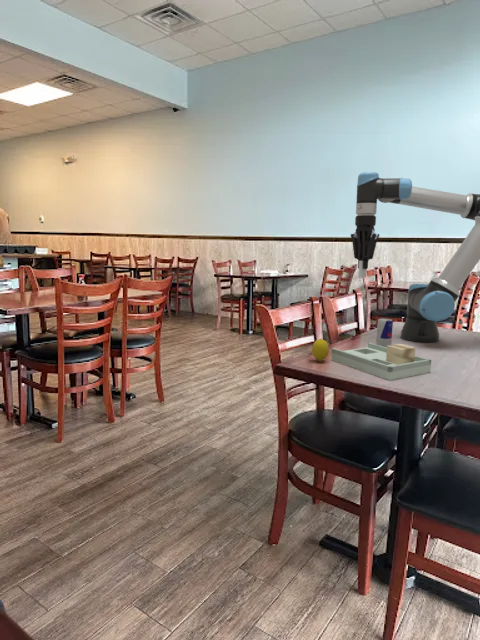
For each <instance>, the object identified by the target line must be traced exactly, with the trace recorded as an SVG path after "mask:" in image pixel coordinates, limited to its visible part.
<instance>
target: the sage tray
mask: <svg viewBox="0 0 480 640" xmlns="http://www.w3.org/2000/svg"><path fill="white" fill-rule="evenodd" d="M386 355H387V348H386V347H383V346H379V345H376V343H372V342H369V343H367V346H366V347H361V348H354V349H347V350H341V349H338V348H335V347H332V348H331V355H330V357H331V358H330V360H331V361H334V362H336V361H337V363H340V364H343V365H345V366H348V367H350V366H351V367H350V368H353V369H357V370H359V371H362V372H364V373H367V374H370V375H373V376H377V377H378V378H382V379H385V380H388V381H395V380H399V379H403V378H408V377H413V376H418V375H423V374H428V373H431V371H432V370H431V367H432V359H429V358H425V357H422V356H419V355H415V359H414V362H410V363H405V364H399V365H398V364H395V363H391V362H388V361H386Z"/></svg>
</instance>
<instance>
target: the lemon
mask: <svg viewBox="0 0 480 640" xmlns="http://www.w3.org/2000/svg"><path fill="white" fill-rule="evenodd" d="M329 351H330V350H329V345H328V342H327V341H326V340H324V339H322V338H319V339H316V340H315V341H314V342H313V344H312V348H311V354H312V356H313V358H314V359H315V360H317V362H321V361H323V360H325V359H326V358H327V357H328V356H329Z"/></svg>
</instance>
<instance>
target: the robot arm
mask: <svg viewBox="0 0 480 640" xmlns="http://www.w3.org/2000/svg"><path fill="white" fill-rule="evenodd" d="M378 202H381V203H383V204H384V203H385V204H386V203H387V204H388V203H389V204H390V203H391V204H397V205H403V206H406V207H407V206H408V207H414V208H419V209H420V208H421V209H426V210H430V211H437V212H442V213H447V214H448V213H449V214H453V215H458V216H460V217H461V218H462V219H467V220H472V221H475V224H474V225H473V227H472V228H471V230H470V231H469V233H468V234H467V235H466V237H464V238H465V239H464V240H463V241H462V242H461V244H460V245H459V247H457V250H456V251H455V253H454V254H453V255H452V257H451V258H450V260H449V261H448V263H447V264H446V265H445V267H444V268H443V270H442V271H441V273H440V274H439V276H438V277H437V278H434V279H431V280H430V281H429V282H428V283H411V284H410V285H409V286H408V291H407V304H406V305H407V306H406V319H405V321H404V324H403V326H402V329H401V331H400V338H401V339H403V340H406V341H411V342H417V343H419V342H420V343H437V342H438V341H440V333H439V328H438V323H437V322H441V321H444V320H447V319H448V318H450V317H451V316H452V314H453V313H454V311H455V308H456V304H455V303H456V301H457V300H458V299H459V297H460V294H459V289H460V288H461V287H462V286H463V284H464V283H465V281H466V280H467V278H468V277H469V276H470V275H471V273H472V271H473V270H474V268H475V267H476V265H477V264H478V263H479V261H480V194H478V193H472V192H471V193H468V194H466V195H465V194H460V193H455V192H447V191H441V190H436V189H429V188H424V187H417V186H413V182H412V180H411V178H403V177H398V178H397V177H395V178H393V177H392V178H388V177H387V178H381V177H380V175H379V173H378V172H375V171H374V172H373V171H366V172H361V173H359V174H358V176H357V185H356V203H355V204H356V205H355V206H356V207H355V215H356V216H355V218H354V219H355V222H354V224H355V225H354V226H355V227H356V228H355V232H354V233H350V238H351V240H352V241H351V243H352V250H353V258H354V259H356V260H357V268H358V275H357V276H358V279H359V278H361V279H362V278H367V270H368V268H369V261H370V260H373V258H374V255H375V250H376V247H377V246H376V245H377V242H378V239H379V237H380V234H379V233H376V232H375V226H376V222H377V216H376V214H377V205H378Z"/></svg>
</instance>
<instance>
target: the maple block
mask: <svg viewBox="0 0 480 640" xmlns="http://www.w3.org/2000/svg"><path fill="white" fill-rule="evenodd" d="M415 356H416V347H414V346H410V345H407V344H403V343H396V344H391V345H388V346H387V355H386V361H388V362H391V363H395V364H398V365H399V364H405V363H410V362H414V359H415Z"/></svg>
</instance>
